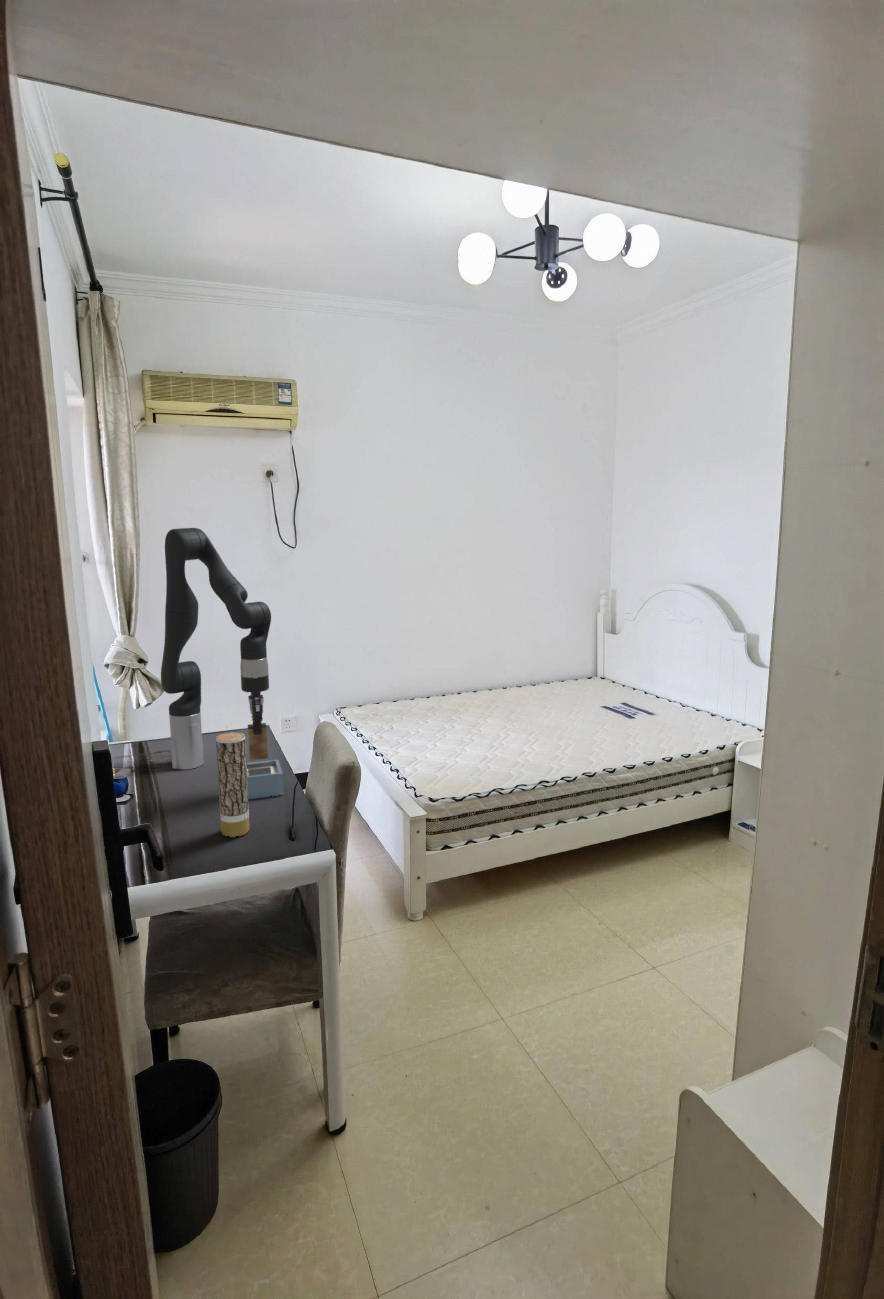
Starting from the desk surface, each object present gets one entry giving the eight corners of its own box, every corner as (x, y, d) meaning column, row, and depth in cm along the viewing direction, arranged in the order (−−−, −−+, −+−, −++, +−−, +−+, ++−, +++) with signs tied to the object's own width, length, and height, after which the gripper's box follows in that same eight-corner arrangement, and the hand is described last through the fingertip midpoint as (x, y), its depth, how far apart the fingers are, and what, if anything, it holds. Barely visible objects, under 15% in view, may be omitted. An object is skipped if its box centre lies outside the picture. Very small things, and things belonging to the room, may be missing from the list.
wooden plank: (250, 760, 194) (248, 726, 192) (249, 758, 196) (247, 724, 194) (268, 758, 196) (266, 724, 194) (267, 756, 198) (265, 722, 196)
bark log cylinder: (224, 840, 166) (218, 742, 162) (219, 829, 172) (213, 734, 168) (252, 835, 170) (247, 738, 165) (246, 824, 176) (241, 731, 171)
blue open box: (239, 800, 190) (238, 775, 189) (237, 784, 201) (236, 760, 200) (283, 795, 194) (282, 770, 193) (279, 780, 205) (278, 756, 204)
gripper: (239, 669, 196) (242, 727, 200) (242, 679, 184) (245, 741, 187) (266, 667, 199) (268, 724, 202) (270, 677, 186) (273, 738, 189)
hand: (257, 732), depth 194 cm, fingers closed on wooden plank, 2 cm apart
